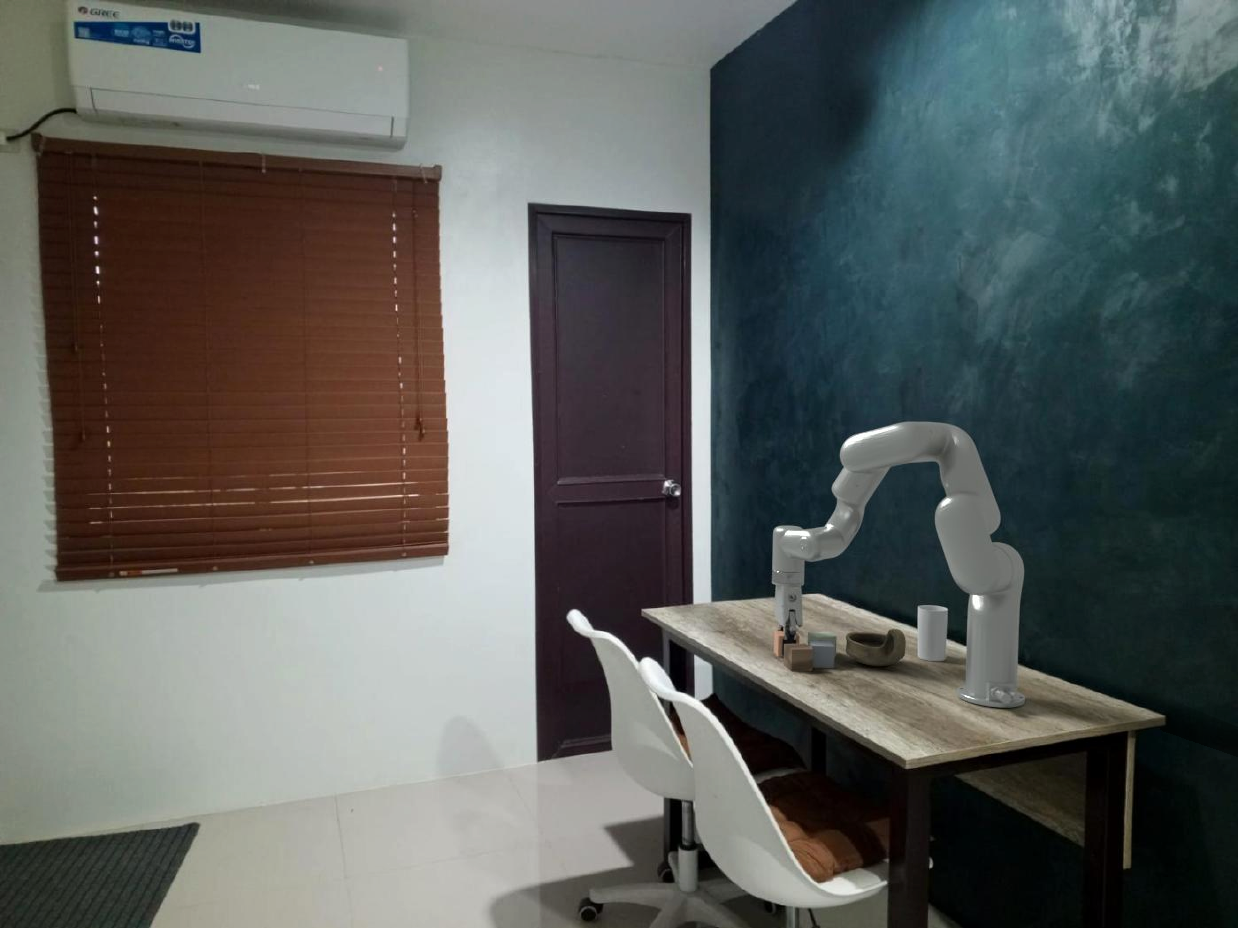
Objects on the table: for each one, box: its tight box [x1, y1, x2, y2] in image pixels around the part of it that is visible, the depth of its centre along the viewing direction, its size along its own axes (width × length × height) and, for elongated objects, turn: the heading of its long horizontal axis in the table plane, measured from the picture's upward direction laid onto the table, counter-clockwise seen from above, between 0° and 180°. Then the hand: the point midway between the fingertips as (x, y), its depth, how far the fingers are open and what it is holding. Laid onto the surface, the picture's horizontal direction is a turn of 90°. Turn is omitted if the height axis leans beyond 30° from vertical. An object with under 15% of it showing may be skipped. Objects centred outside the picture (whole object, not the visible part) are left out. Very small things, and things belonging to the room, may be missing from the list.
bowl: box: [845, 628, 907, 667], centre depth 198 cm, size 14×18×10 cm
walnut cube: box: [783, 643, 814, 672], centre depth 196 cm, size 5×5×5 cm
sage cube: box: [807, 631, 837, 658], centre depth 208 cm, size 5×5×5 cm
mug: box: [917, 604, 949, 662], centre depth 207 cm, size 10×7×12 cm, turn 7°
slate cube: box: [809, 640, 835, 669], centre depth 199 cm, size 5×5×5 cm
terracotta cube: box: [773, 630, 800, 658], centre depth 208 cm, size 5×5×5 cm
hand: (786, 651), depth 208 cm, fingers closed on terracotta cube, 5 cm apart
